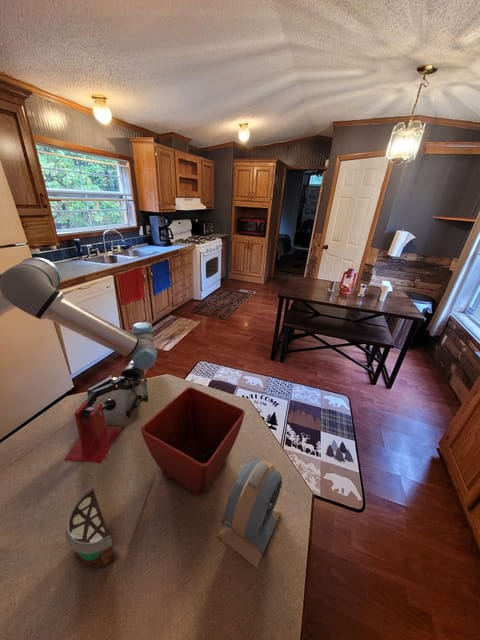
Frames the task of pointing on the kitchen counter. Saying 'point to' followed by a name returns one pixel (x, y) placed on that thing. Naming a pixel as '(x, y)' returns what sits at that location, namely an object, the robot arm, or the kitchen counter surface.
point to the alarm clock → (252, 510)
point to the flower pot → (193, 437)
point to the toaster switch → (92, 436)
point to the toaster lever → (108, 406)
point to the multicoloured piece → (89, 532)
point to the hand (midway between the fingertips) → (105, 412)
